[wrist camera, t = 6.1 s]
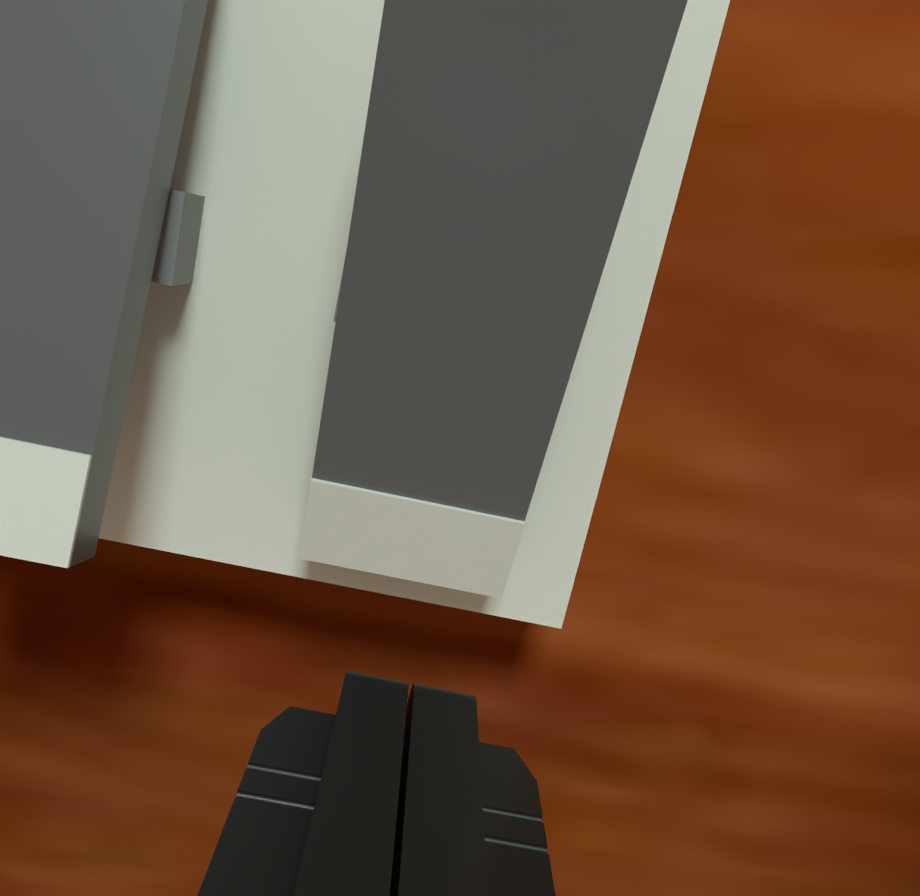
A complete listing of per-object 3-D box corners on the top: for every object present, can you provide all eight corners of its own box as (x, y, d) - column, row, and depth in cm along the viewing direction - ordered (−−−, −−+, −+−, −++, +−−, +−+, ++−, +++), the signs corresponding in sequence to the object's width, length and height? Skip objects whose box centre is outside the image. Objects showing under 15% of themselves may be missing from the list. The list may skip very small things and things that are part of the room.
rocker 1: (-18, -133, 15) (-56, -183, 14) (223, -74, 16) (206, -118, 14) (-145, 510, 16) (-195, 518, 14) (95, 556, 16) (67, 567, 15)
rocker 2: (408, -98, 13) (399, -104, 12) (680, -28, 13) (697, -28, 12) (310, 523, 19) (299, 558, 18) (501, 561, 19) (501, 598, 18)
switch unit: (-391, -584, 17) (-680, -870, 12) (764, -263, 18) (863, -416, 14) (-383, 394, 21) (-593, 432, 17) (546, 579, 23) (570, 657, 19)
